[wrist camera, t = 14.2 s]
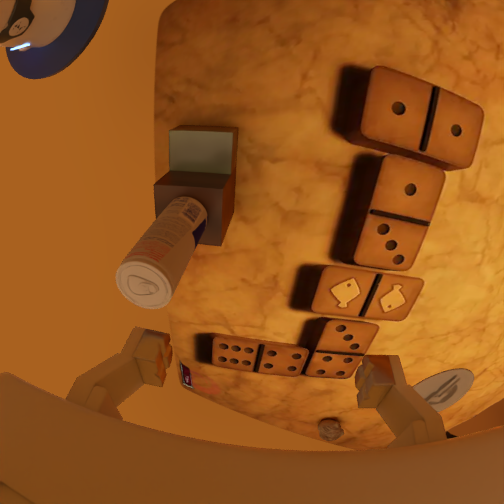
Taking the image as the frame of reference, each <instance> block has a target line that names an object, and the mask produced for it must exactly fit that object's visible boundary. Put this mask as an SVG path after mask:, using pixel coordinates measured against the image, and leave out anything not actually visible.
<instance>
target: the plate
mask: <svg viewBox="0 0 504 504" xmlns="http://www.w3.org/2000/svg"><path fill="white" fill-rule="evenodd" d="M473 381H474V375H473V373H472V372H471V371H470V370H467V369H452V370H448V371H444V372H441V373H438V374H436V375H433V376H431V377H429V378H427V379H425V380H423V381H421V382H419V383H418V384H416V385H414V386H413V387H412V388H413V389H414V390H415V391H416V392H417V393H418V394H419V395H421V396H422V397H423V398H424V399H425V400H426V401H427V402H428V403H429V404H430V405H431V406H432V408H433V409H434V410H435V411H436V412H440V411H442V410H444V409H446V408H448V407H449V406H451V405H453V404H454V403H456V402H457V401H458V400H460V399H461V398H462V397H463V396H464V395H465V394H466V393H467V392H468V391H469V389H470V388H471V386H472V384H473Z"/></svg>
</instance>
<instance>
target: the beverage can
mask: <svg viewBox="0 0 504 504" xmlns="http://www.w3.org/2000/svg"><path fill="white" fill-rule="evenodd" d="M207 223H208V215H207V212H206V210H205V208H204V206H203V205H202V204H201V203H200V202H199V201H197V200H195V199H193V198H190V197H178V198H176V199H174V200H172V201H171V202H170V203H169V205H168V206H167V207H166V208H165V209H164V210H163V212H162V213H161V214H160V215H159V216H158V218H157V219H156V220H155V221H154V222H153V224H152V225H151V226H150V227H149V229H148V230H147V231H146V232H145V233H144V235H143V236H142V237H141V238H140V240H139V241H138V242H137V243H136V245H135V246H134V247H133V249H132V250H131V251H130V252H129V254H128V255H127V256H126V257H125V259H124V260H123V261H122V263H121V265H120V267H119V269H118V270H117V272H116V283H117V286H118V288H119V290H120V291H121V293H122V294H123V295H124V296H125V297H126V298H127V299H128V300H129V301H131V302H132V303H134V304H136V305H138V306H140V307H143V308H148V309H158V308H161V307H164V306H165V305H167V304H168V303H169V301H170V299H171V297H172V296H173V294H174V292H175V290H176V288H177V285H178V283H179V281H180V279H181V277H182V275H183V273H184V271H185V269H186V267H187V265H188V262H189V260H190V258H191V256H192V254H193V252H194V250H195V248H196V246H197V244H198V242H199V240H200V238H201V236H202V234H203V232H204V230H205V228H206V226H207Z"/></svg>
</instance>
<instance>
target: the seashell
mask: <svg viewBox="0 0 504 504" xmlns="http://www.w3.org/2000/svg"><path fill="white" fill-rule="evenodd" d="M318 430H319V434H320V437H321V438H322V439H324V440H326V441H333V440H336V439H338V438H339V437H341V436H342V435H343V434H344V432H343V431H344V430H343V429H342V428H341V426H340V424H339V423H338V422H337V421H334V420H329V419H327V420H323V421H321V423H320V424H319V425H318Z"/></svg>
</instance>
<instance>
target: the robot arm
mask: <svg viewBox="0 0 504 504" xmlns="http://www.w3.org/2000/svg"><path fill="white" fill-rule="evenodd" d="M75 3H76V0H0V46H1V47H15V48H12V49H11V50H15V49H19V51H26V50H28V49H30V48H32V47H43V46H46V45H48V44H50V43H51V42H53V41H54V40H55V39H56V38H57V37H58V36H59V35H60V34H61V33H62V32H63V30H64V29H65V28H66V26H67V24H68V23H69V21H70V19H71V17H72V14H73V11H74V8H75ZM170 340H171V339H170V334H167V333H163V332H158V331H154V330H149V329H145V328H140V327H135V328H134V329H133V330H132V332H131V334H130V336H129V338H128V340H127V342H126V344H125V346H124V347H123V349H122V351H121V353H120V354H118V353H117V354H115V355H114V356H112V357H110V358H109V359H107V360H105V361H104V362H102V363H101V364H99V365H97V366H96V367H94V368H92V369H91V370H89V371H87V372H86V373H84V374H82V375H81V376H79V377H77V379H76V381H75V382H74V384H73V386H72V388H71V390H70V392H69V394H68V396H67V397H66V399H63V398H60V397H58V396H55V395H53V394H51V393H49V392H47V391H45V390H42V389H40V388H38V387H36V386H34V385H32V384H30V383H28V382H26V381H24V380H22V379H20V378H18V377H16V376H15V375H13V374H11V373H7V372H4V373H1V374H0V504H504V426H498V427H495V428H491V429H488V430H484V431H480V432H477V433H473V434H469V435H465V436H460V437H456V438H451V439H447V437H446V433H445V429H444V425H443V421H442V417H441V416H440V415H439V414H438V413H437V412H436V411H435V410H434V409H433V408H432V406H431V405H430V404H429V403H428V402H427V401H426V400H425V399H424V398H423V397H422V396H421V395H419V394H418V393H417V392H416V391H415V390H414V389H413V388H412V387H411V386H410V385H407V383H406V380H405V376H404V372H403V369H402V365H401V362H400V358H399V356H398V355H365V356H364V357H363V359H362V365H360V366H359V367H358V369H357V371H356V375H355V386H356V388H357V389H358V390H359V393H358V394H357V401H358V408H376V410H377V411H378V413H379V414H380V415H381V417H382V418H383V419H384V421H385V422H386V424H387V425H388V426H389V428H390V429H391V430H392V432H393V433H394V435H395V436H396V437H397V438H396V439H395V440H393V441H392V442H391V443H390V444H389V445H388V448H384V449H371V450H354V451H297V450H296V451H295V450H279V449H266V448H256V447H246V446H238V445H231V444H223V443H217V442H211V441H205V440H200V439H195V438H190V437H185V436H180V435H175V434H171V433H166V432H163V431H158V430H155V429H151V428H147V427H143V426H140V425H136V424H133V423H130V422H126V421H123V418H122V416H121V415H120V413H119V411H118V409H117V408H116V407H117V406H118V405H120V404H121V403H122V402H123V401H124V400H125V399H127V398H128V397H129V396H130V395H132V394H133V393H134V392H135V391H137V390H138V389H139V388H140V387H141V386H143V385H144V383H145V384H149V385H154V386H159V387H162V386H163V384H164V381H165V378H166V369H167V368H169V367H170V364H171V361H172V346H171V345H170V344H169V342H170Z"/></svg>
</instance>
